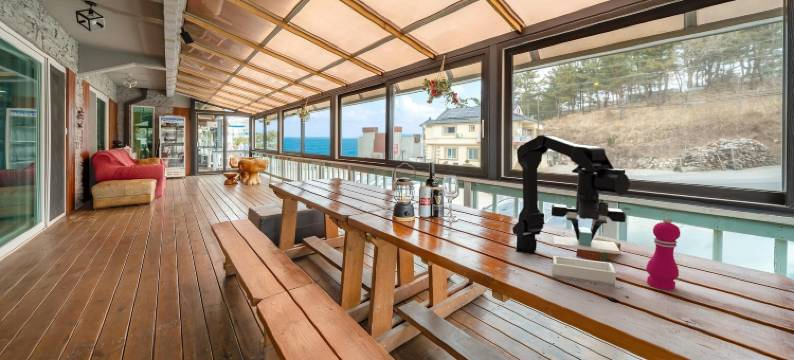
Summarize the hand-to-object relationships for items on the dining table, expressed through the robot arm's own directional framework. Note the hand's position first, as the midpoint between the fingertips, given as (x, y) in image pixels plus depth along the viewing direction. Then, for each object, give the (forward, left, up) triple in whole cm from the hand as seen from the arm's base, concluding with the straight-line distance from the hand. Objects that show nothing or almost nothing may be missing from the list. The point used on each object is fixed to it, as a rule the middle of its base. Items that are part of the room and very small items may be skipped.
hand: (584, 240), depth 98 cm
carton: (+7, +24, -12) cm, 28 cm away
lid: (0, 0, -2) cm, 2 cm away
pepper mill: (+20, +2, -12) cm, 23 cm away
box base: (0, 0, -11) cm, 11 cm away
